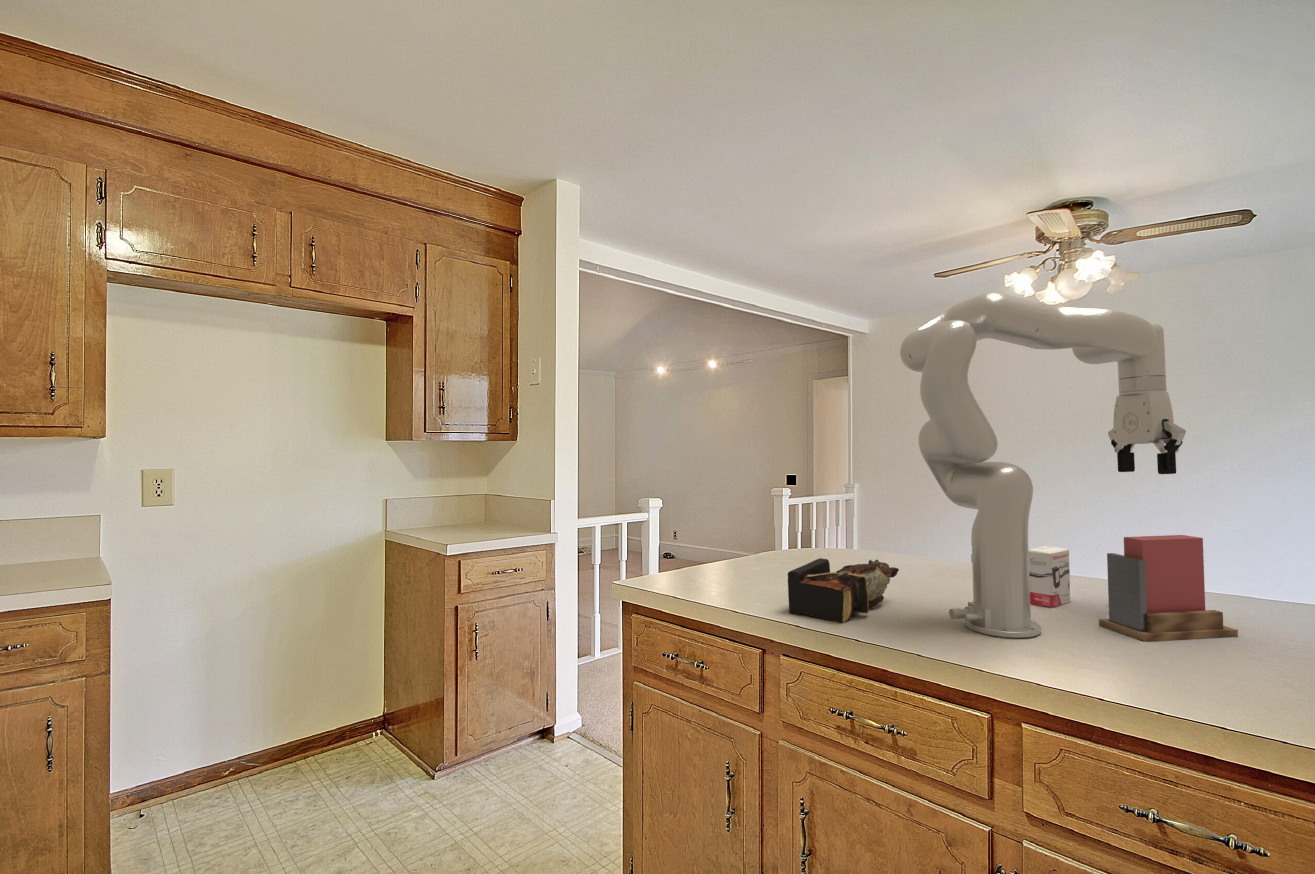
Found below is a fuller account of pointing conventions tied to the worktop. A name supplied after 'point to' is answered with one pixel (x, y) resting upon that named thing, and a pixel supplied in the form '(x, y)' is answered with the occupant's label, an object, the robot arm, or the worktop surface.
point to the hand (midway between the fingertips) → (1146, 472)
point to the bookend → (837, 589)
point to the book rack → (1178, 626)
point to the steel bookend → (1127, 591)
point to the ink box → (1049, 576)
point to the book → (1171, 571)
